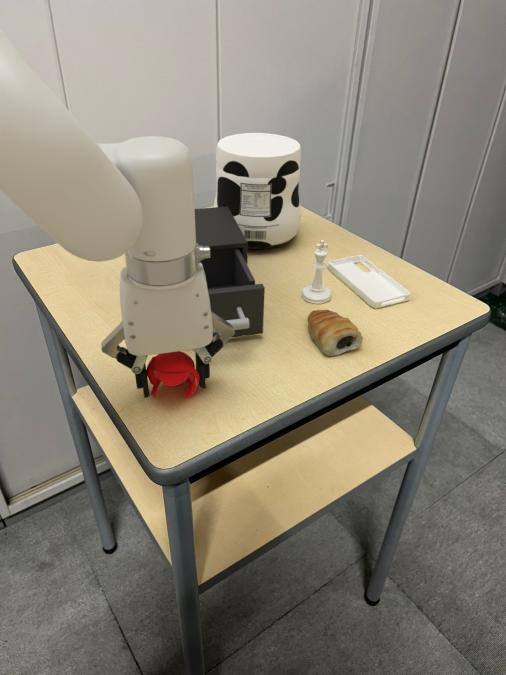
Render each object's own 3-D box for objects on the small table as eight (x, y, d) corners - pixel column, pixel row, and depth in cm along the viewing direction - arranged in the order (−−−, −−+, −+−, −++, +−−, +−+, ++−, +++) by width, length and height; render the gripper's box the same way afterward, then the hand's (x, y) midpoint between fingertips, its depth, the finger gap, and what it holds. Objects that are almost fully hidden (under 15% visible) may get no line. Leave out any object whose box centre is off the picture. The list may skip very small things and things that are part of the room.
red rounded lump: (142, 378, 68) (137, 342, 65) (186, 367, 70) (183, 331, 67) (160, 418, 63) (155, 381, 59) (206, 405, 65) (204, 368, 61)
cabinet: (246, 295, 86) (247, 242, 80) (164, 304, 83) (159, 250, 77) (228, 254, 97) (227, 206, 91) (155, 262, 94) (150, 212, 88)
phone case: (326, 267, 94) (373, 309, 83) (326, 260, 93) (375, 302, 82) (360, 260, 96) (410, 300, 85) (361, 253, 96) (412, 293, 85)
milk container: (265, 212, 113) (268, 126, 103) (317, 241, 102) (327, 149, 92) (197, 230, 105) (192, 139, 94) (245, 265, 94) (246, 166, 83)
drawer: (271, 351, 72) (273, 304, 68) (182, 363, 70) (179, 316, 65) (241, 287, 86) (242, 244, 81) (166, 295, 83) (162, 251, 79)
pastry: (295, 324, 79) (297, 303, 77) (334, 315, 81) (337, 295, 79) (325, 360, 72) (328, 338, 70) (366, 350, 74) (371, 328, 72)
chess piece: (335, 302, 85) (342, 246, 79) (306, 305, 84) (312, 249, 78) (325, 286, 88) (331, 232, 82) (297, 289, 87) (302, 235, 81)
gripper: (233, 238, 60) (233, 358, 71) (78, 253, 56) (103, 377, 67) (248, 269, 54) (246, 395, 65) (77, 287, 51) (104, 417, 61)
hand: (173, 385), depth 66 cm, fingers closed on red rounded lump, 6 cm apart
